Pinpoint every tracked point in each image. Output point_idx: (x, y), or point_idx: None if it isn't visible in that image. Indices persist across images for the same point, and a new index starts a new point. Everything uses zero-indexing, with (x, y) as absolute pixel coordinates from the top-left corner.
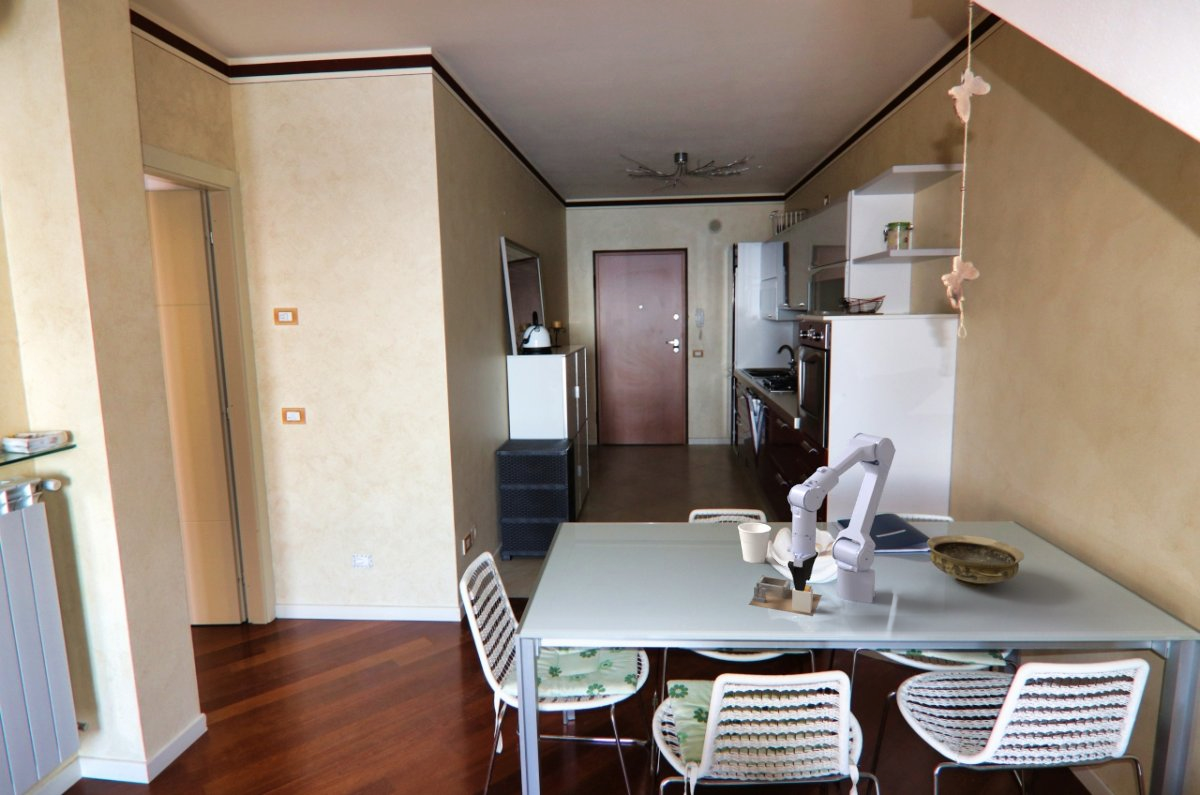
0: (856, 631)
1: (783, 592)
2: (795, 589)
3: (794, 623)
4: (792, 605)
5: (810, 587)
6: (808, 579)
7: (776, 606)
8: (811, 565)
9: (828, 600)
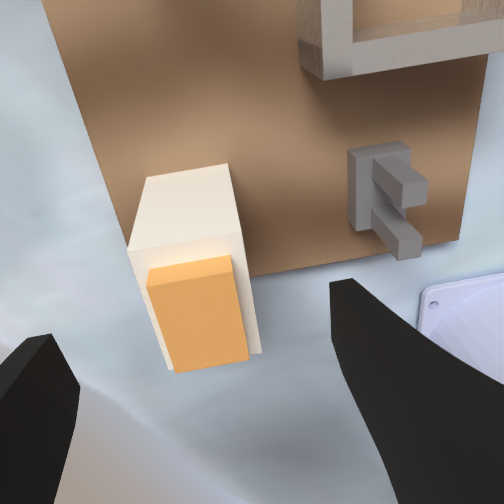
0: (163, 430)
1: (311, 53)
2: (20, 346)
3: (30, 228)
4: (144, 191)
5: (395, 256)
6: (333, 342)
7: (121, 56)
8: (401, 493)
9: (434, 261)
